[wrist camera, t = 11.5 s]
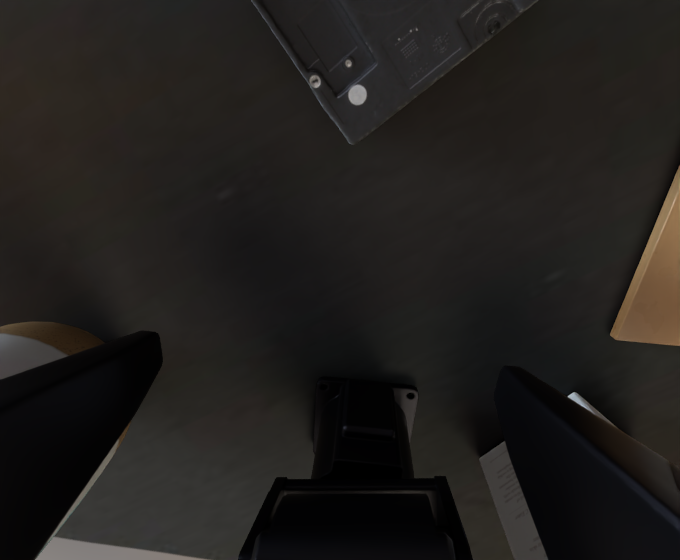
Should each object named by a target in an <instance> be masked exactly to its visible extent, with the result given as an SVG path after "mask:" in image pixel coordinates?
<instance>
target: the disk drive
mask: <svg viewBox="0 0 680 560" xmlns="http://www.w3.org/2000/svg"><path fill="white" fill-rule="evenodd" d="M251 1H252V3H253V4H254V5H255V7H256V8H257V10H258V11H259V13H260V14H261V16H262V18H263V19H264V20H265V22H266V23H267V25H268V26H269V27H270V29H271V30H272V32H273V33H274V35H275V36H276V38H277V39H278V41H279V42H280V44H281V45H282V46H283V48H284V49H285V51H286V52H287V54H288V55H289V57H290V58H291V60H292V61H293V62H294V64H295V66H296V67H297V68H298V70H299V71H300V73H301V74H302V76H303V77H304V78H305V80H306V81H307V82H308V84H309V85H310V88H311V89H312V91H313V93H314V95H315V96H316V98H317V99H318V101H319V102H320V104H321V106H322V107H323V109H324V110H325V111H326V113H327V114H328V115H329V117H330V118H331V120H333V121H334V122H335V124H336V125H337V126H338V128H339V130H340V131H341V132H342V134H343V135H344V137H345V138H346V139H347V141H348V143H350V144H351V145H356V144H358V143H359V142H360V141H361V140H363V139H364V138H366V137H367V136H368V135H369V134H370V133H371V132H373V131H374V130H376V129H377V128H378V127H379V126H380V125H382V124H383V123H385V121H387V120H388V119H389V118H391V117H392V116H393V115H394V114H396V113H397V112H398V111H400V110H401V109H402V108H403V107H404V106H406V105H407V104H409V103H410V102H411V101H412V100H413V99H414V98H416V97H417V96H418V95H420V94H421V93H422V92H424V91H425V90H427V89H428V88H429V87H430V86H431V85H433V84H434V83H435V82H436V81H438V80H439V79H440V78H441V77H443V76H444V75H445V74H446V73H448V72H449V71H450V70H452V69H453V68H454V67H455V66H456V65H458V64H459V63H460V62H462V61H463V60H464V59H465V58H467V57H468V56H469V55H470V54H472V53H473V52H474V51H476V50H477V49H478V48H480V47H481V46H482V45H484V44H485V43H486V42H487V41H489V40H490V39H491V38H492V37H494V36H495V35H496V34H497V33H499V32H500V31H501V30H502V29H504V28H505V27H506V26H508V25H509V24H510V23H511V22H512V21H514V20H515V19H516V18H517V17H519V16H520V15H521V14H522V13H524V12H525V11H526V10H527V9H529V8H530V7H531V6H533V5H534V4H535V3H536V2H537V1H539V0H251Z"/></svg>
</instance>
